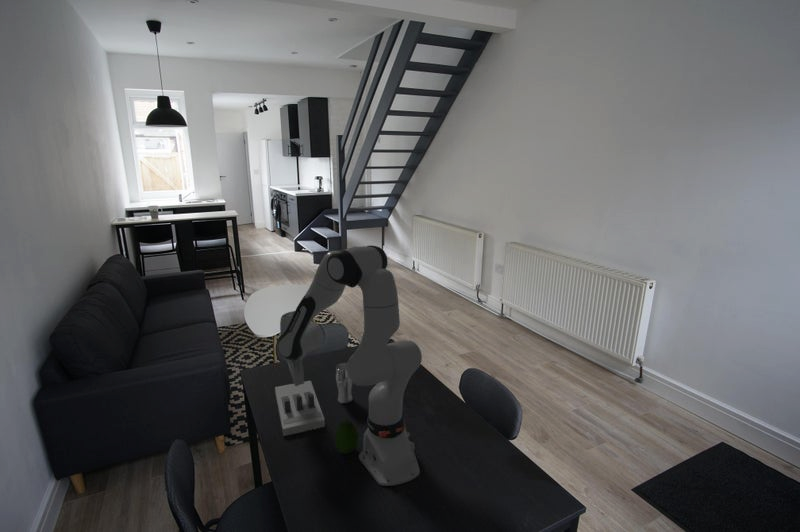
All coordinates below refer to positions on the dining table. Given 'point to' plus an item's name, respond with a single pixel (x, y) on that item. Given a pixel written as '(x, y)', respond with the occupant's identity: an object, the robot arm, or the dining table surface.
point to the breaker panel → (300, 417)
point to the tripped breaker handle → (299, 402)
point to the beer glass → (343, 384)
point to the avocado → (347, 437)
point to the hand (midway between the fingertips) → (296, 384)
